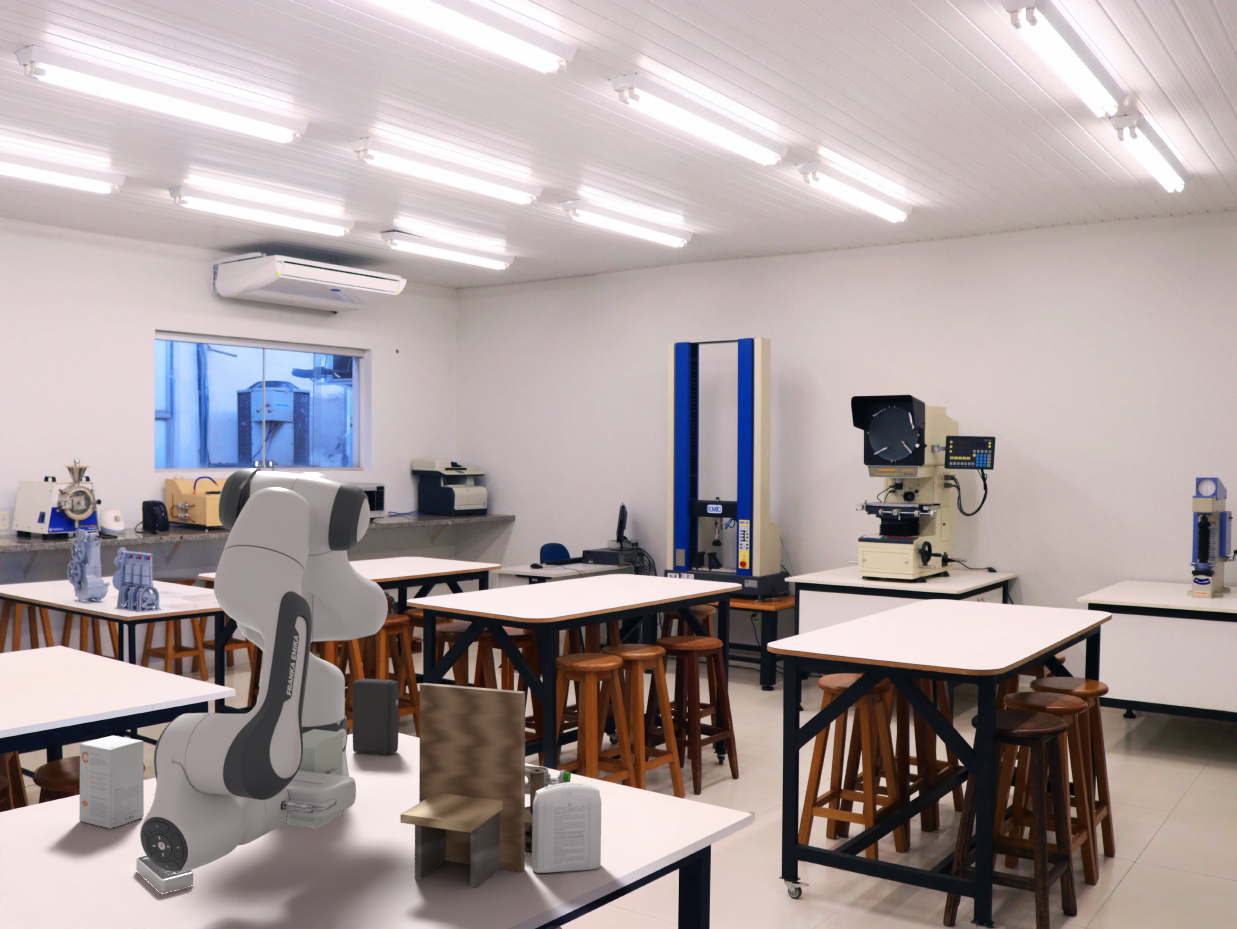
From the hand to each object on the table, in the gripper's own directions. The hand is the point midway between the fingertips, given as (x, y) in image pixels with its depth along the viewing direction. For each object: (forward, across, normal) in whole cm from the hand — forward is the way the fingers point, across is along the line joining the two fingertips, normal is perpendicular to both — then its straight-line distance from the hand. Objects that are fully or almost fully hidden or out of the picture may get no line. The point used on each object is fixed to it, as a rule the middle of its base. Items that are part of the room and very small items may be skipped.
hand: (319, 771), depth 144 cm
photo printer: (+14, -33, +15) cm, 39 cm away
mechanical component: (+26, -23, +15) cm, 38 cm away
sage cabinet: (-1, 0, +7) cm, 7 cm away
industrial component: (+19, -26, +15) cm, 36 cm away
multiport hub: (-10, +19, +15) cm, 26 cm away
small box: (+6, +46, +15) cm, 49 cm away
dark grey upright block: (+55, +27, +16) cm, 63 cm away
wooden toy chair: (+6, -19, +14) cm, 25 cm away
